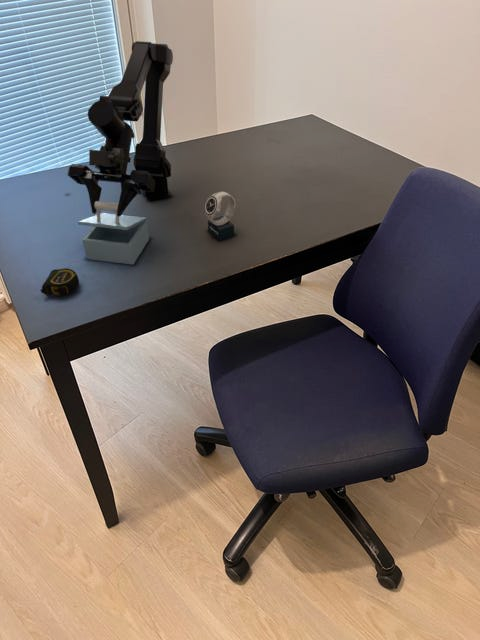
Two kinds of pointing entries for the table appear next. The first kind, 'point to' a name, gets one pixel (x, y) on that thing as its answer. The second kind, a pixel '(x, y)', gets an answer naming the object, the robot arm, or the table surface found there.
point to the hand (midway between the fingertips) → (106, 214)
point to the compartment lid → (111, 218)
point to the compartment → (116, 243)
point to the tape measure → (60, 282)
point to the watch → (220, 224)
